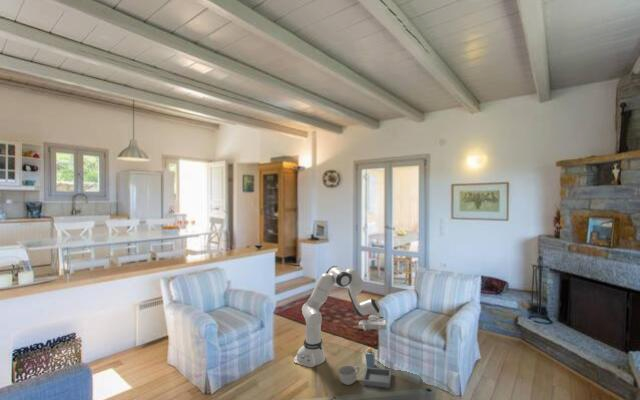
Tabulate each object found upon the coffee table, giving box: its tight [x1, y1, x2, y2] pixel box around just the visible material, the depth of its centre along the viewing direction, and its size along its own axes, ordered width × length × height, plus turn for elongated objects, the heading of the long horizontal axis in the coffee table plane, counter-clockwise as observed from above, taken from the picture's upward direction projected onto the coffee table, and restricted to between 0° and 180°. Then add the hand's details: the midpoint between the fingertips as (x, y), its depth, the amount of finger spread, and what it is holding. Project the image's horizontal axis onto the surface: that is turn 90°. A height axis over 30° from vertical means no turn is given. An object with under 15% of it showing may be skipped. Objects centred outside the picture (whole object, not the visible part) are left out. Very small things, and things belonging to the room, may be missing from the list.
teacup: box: [338, 364, 360, 386], centre depth 199 cm, size 14×11×8 cm
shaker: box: [365, 348, 376, 368], centre depth 213 cm, size 5×5×10 cm
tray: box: [362, 366, 393, 390], centre depth 198 cm, size 16×14×4 cm
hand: (371, 329), depth 223 cm, fingers open, 8 cm apart
